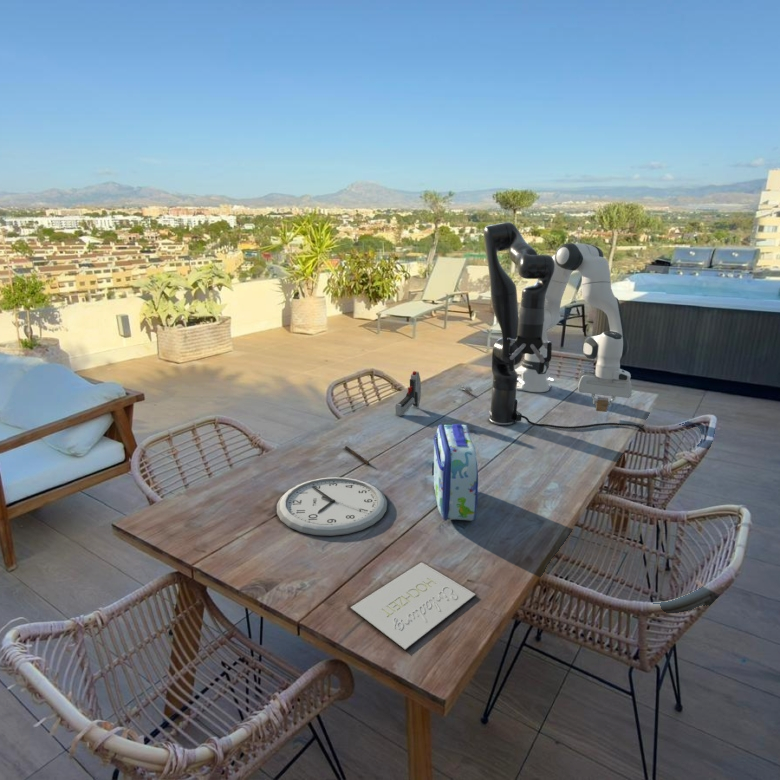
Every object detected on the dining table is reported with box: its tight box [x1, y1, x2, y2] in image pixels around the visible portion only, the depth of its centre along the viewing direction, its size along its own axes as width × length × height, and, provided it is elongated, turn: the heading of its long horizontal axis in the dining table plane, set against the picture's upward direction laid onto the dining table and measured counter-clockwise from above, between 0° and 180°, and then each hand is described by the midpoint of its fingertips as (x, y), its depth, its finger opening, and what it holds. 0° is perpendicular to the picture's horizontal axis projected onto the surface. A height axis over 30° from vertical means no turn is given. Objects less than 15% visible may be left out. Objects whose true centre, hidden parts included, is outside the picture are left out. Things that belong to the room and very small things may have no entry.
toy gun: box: [395, 370, 422, 417], centre depth 214 cm, size 2×16×15 cm
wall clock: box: [276, 476, 388, 537], centre depth 142 cm, size 30×2×30 cm
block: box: [595, 395, 609, 413], centre depth 213 cm, size 5×4×5 cm
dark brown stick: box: [344, 445, 370, 465], centre depth 173 cm, size 15×1×1 cm, turn 34°
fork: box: [457, 383, 474, 397], centre depth 243 cm, size 3×16×2 cm, turn 15°
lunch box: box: [431, 423, 479, 522], centre depth 142 cm, size 26×11×21 cm, turn 179°
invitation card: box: [350, 562, 476, 651], centre depth 106 cm, size 21×1×15 cm
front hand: (526, 372), depth 166 cm, fingers open, 8 cm apart
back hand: (602, 404), depth 214 cm, fingers closed on block, 4 cm apart
